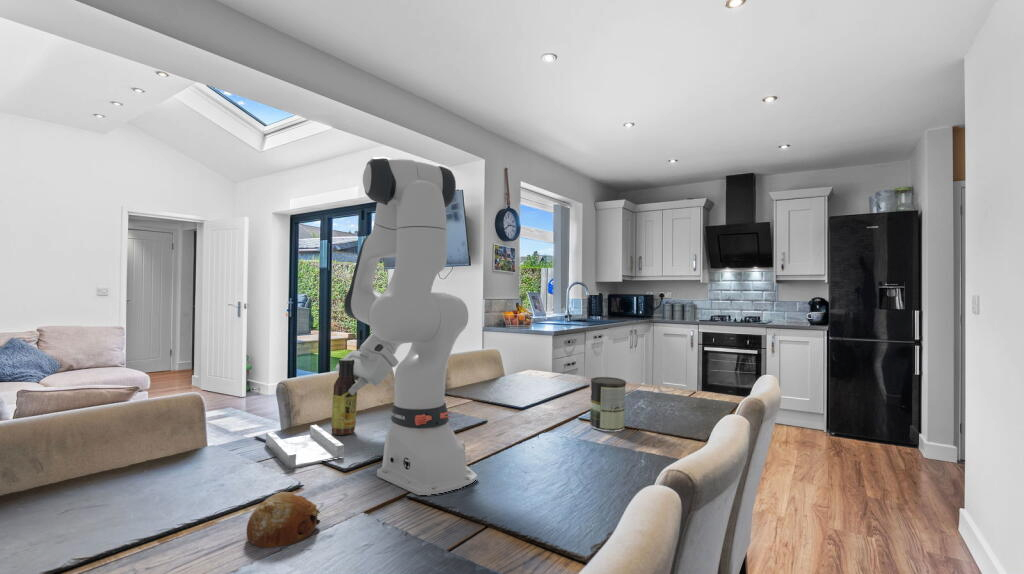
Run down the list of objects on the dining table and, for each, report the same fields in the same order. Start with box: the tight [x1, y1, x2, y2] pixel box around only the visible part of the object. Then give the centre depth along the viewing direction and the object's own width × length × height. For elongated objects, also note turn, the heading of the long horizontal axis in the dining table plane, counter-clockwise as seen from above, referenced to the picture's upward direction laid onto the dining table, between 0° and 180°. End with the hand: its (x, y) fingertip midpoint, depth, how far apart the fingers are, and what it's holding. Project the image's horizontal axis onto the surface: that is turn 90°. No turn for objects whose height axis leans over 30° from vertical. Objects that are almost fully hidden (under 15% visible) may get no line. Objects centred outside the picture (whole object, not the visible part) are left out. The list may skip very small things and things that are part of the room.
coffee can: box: [589, 376, 627, 431], centre depth 142 cm, size 10×10×14 cm
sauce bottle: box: [331, 358, 358, 436], centre depth 129 cm, size 6×6×20 cm
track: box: [265, 424, 345, 470], centre depth 114 cm, size 20×12×3 cm, turn 40°
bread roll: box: [246, 491, 321, 549], centre depth 77 cm, size 10×10×8 cm
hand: (342, 390), depth 129 cm, fingers closed on sauce bottle, 6 cm apart
